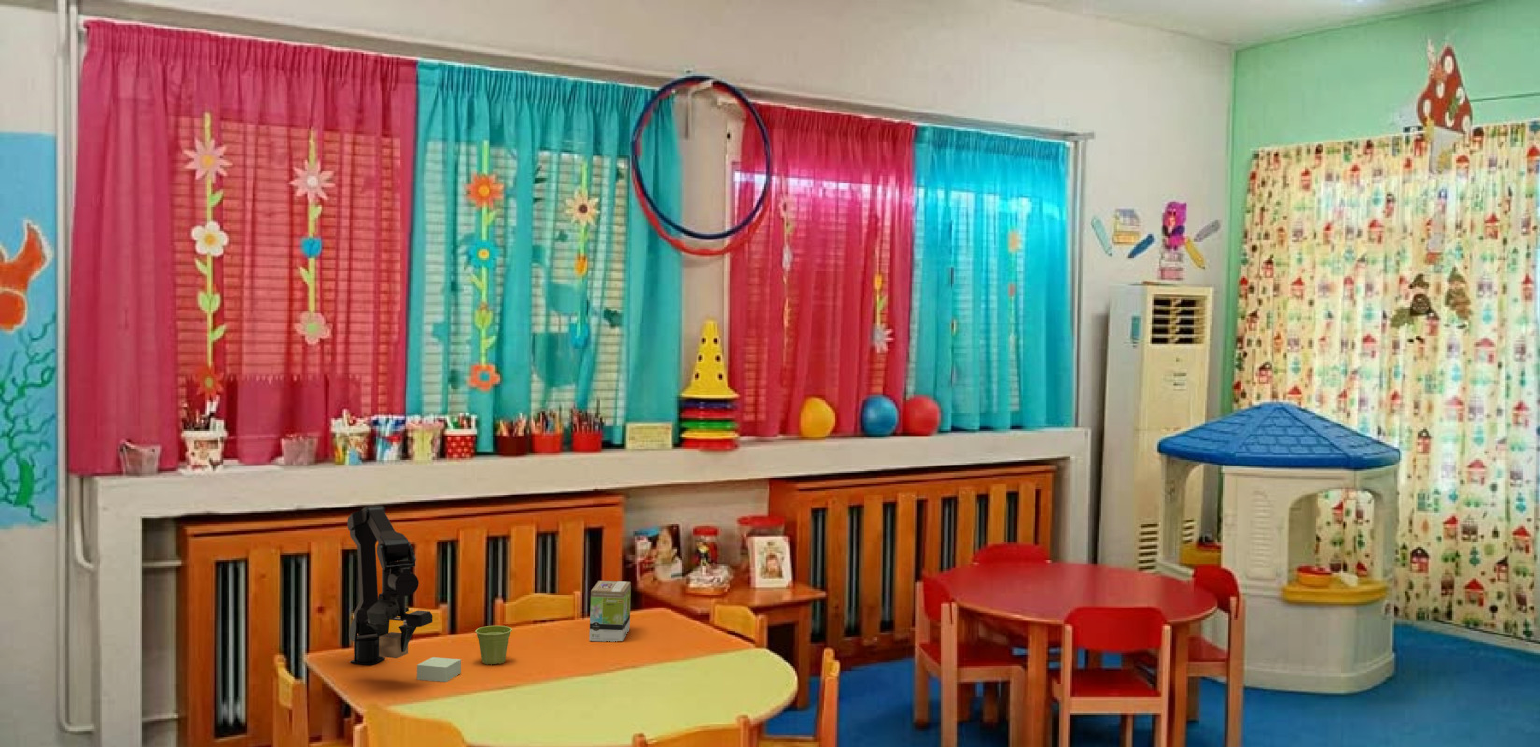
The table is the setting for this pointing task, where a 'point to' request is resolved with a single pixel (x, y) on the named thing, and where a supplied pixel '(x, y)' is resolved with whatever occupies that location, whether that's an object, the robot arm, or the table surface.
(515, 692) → the table surface
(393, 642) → the walnut cube
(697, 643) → the table surface
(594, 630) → the tea box
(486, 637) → the plant pot
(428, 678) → the sage block
